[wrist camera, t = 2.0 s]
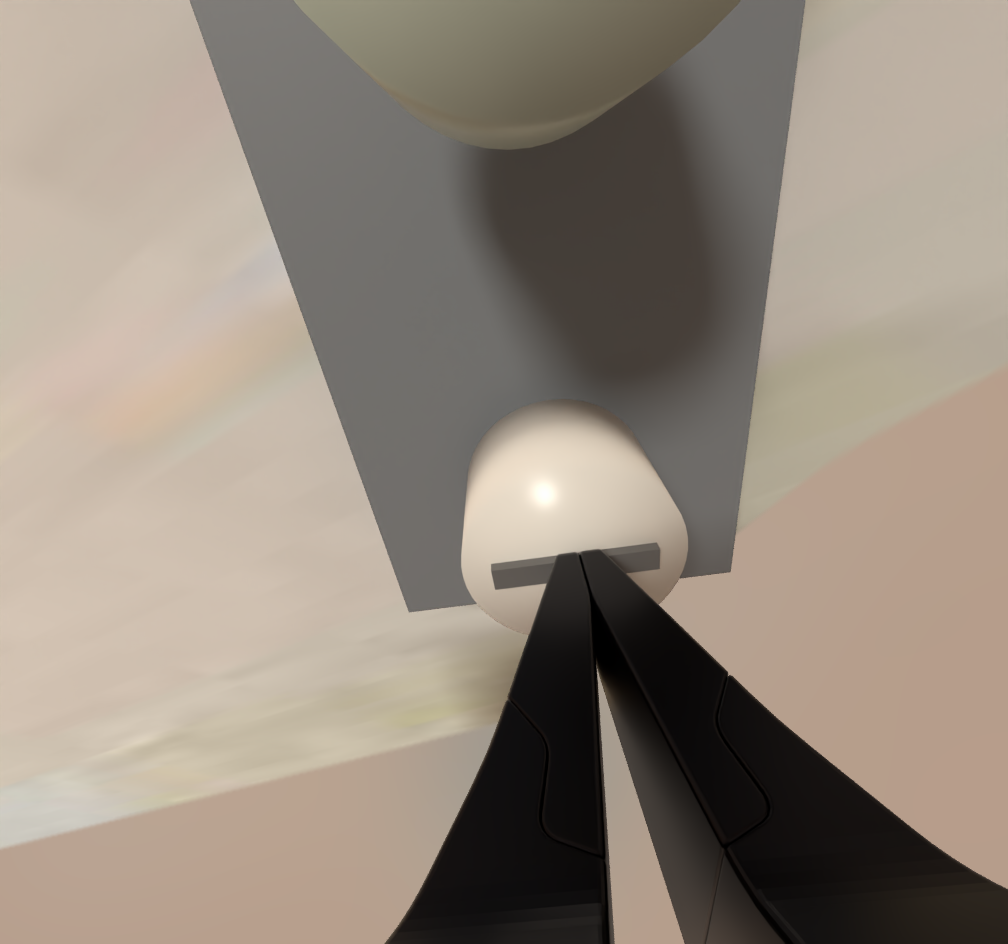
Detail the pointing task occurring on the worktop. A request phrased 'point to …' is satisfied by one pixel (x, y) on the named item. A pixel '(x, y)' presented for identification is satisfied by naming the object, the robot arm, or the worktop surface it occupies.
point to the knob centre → (513, 58)
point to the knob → (563, 507)
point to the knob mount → (522, 266)
